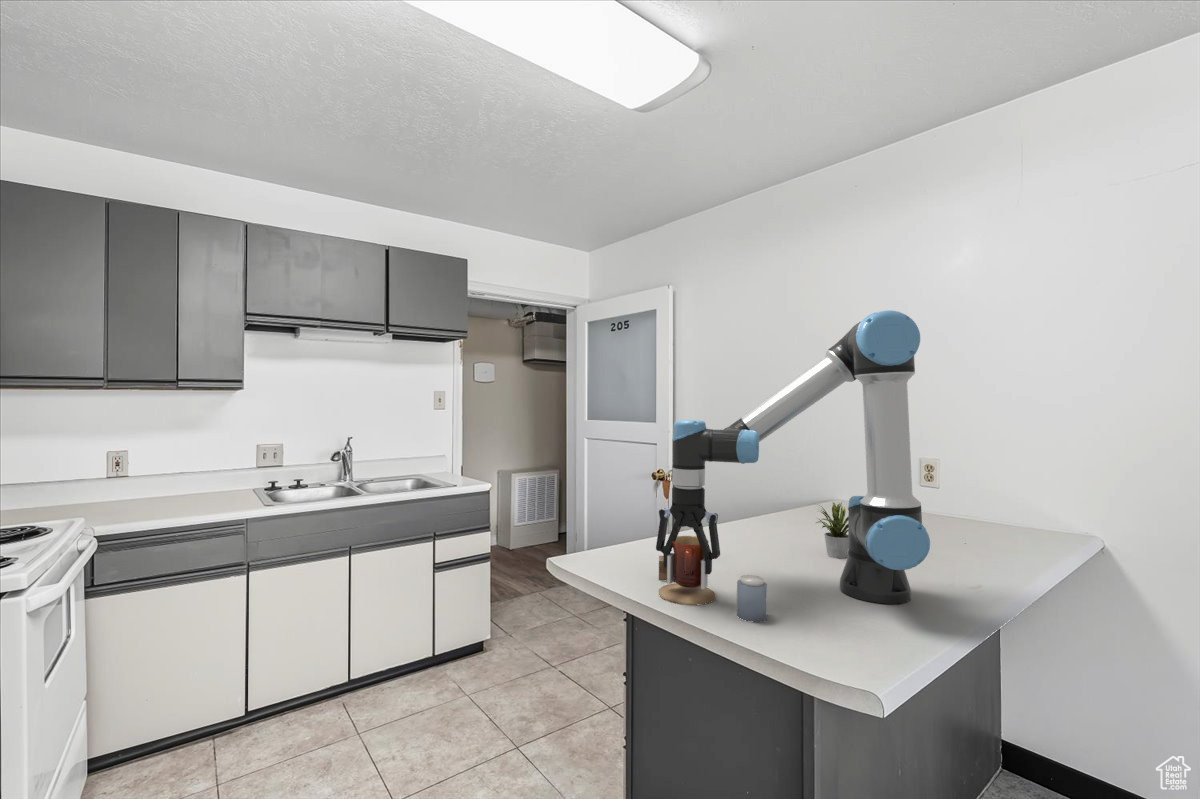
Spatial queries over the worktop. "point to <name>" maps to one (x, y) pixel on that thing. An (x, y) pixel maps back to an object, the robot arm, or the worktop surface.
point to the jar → (751, 598)
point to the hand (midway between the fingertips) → (687, 584)
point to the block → (662, 569)
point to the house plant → (836, 532)
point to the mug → (687, 561)
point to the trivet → (686, 594)
